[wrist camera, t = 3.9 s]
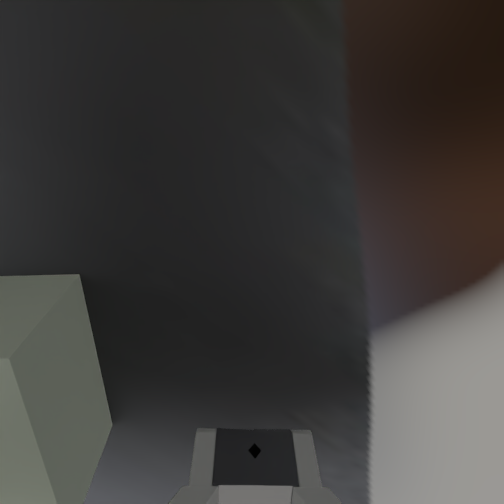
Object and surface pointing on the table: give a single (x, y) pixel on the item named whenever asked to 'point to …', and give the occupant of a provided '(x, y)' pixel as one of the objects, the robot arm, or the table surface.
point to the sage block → (48, 392)
